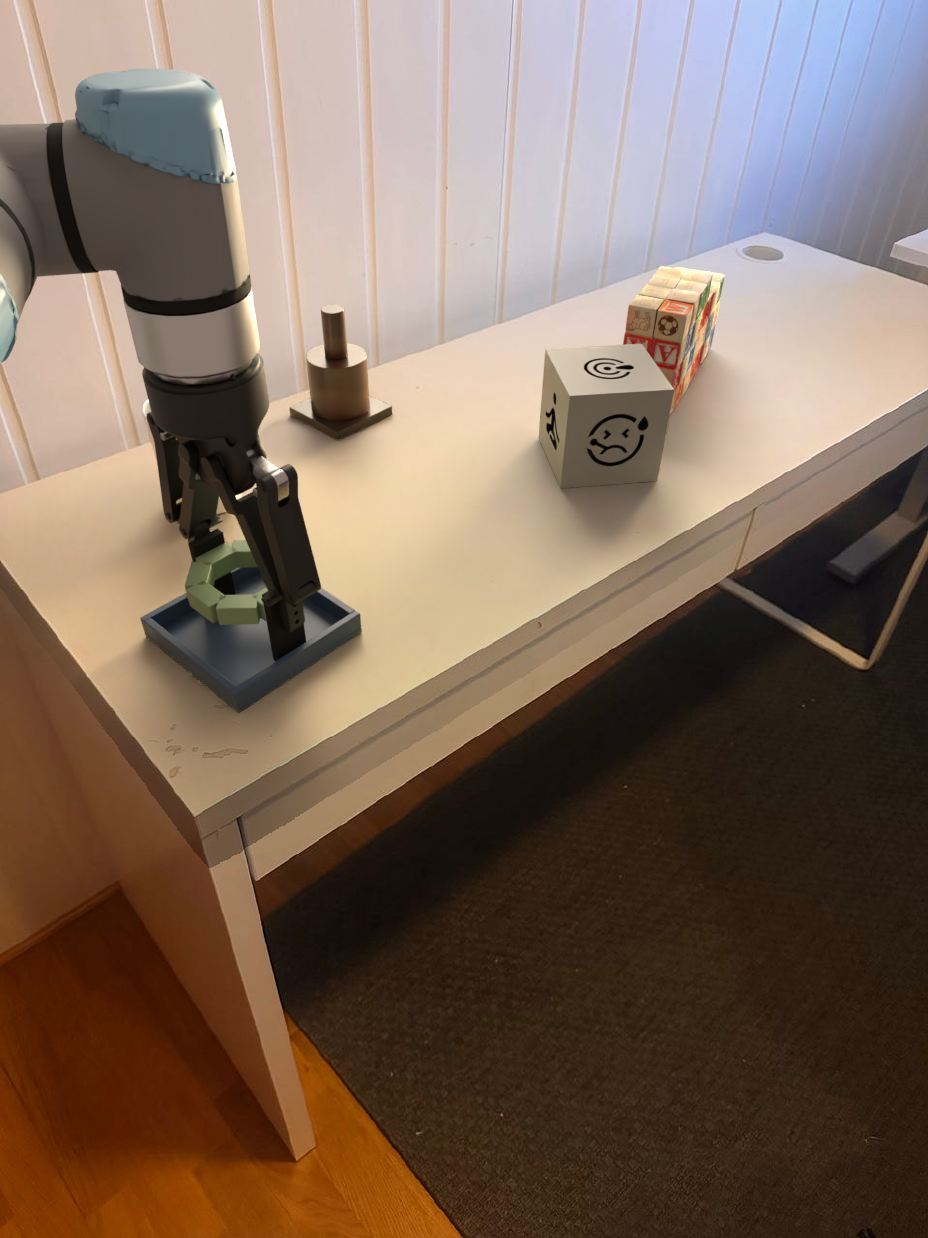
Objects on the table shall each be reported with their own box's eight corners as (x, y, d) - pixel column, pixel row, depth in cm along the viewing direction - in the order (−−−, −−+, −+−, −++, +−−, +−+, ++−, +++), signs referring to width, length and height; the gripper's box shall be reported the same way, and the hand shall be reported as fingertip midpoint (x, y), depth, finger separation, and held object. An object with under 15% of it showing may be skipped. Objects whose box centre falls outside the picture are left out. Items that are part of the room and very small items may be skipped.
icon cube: (628, 431, 97) (641, 343, 91) (657, 480, 90) (674, 389, 83) (538, 437, 96) (545, 348, 89) (560, 488, 88) (569, 395, 82)
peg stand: (290, 415, 99) (276, 308, 91) (344, 390, 103) (335, 287, 95) (338, 440, 95) (328, 331, 87) (392, 414, 99) (388, 308, 91)
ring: (168, 590, 68) (164, 573, 67) (256, 542, 73) (254, 526, 72) (235, 641, 64) (232, 624, 63) (324, 587, 69) (322, 570, 68)
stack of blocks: (663, 338, 115) (680, 239, 107) (711, 347, 113) (732, 248, 105) (613, 410, 101) (628, 302, 93) (667, 422, 99) (687, 313, 91)
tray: (145, 636, 71) (139, 617, 70) (267, 568, 78) (263, 549, 77) (239, 713, 65) (234, 694, 64) (362, 632, 72) (360, 613, 71)
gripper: (359, 392, 53) (379, 665, 68) (158, 296, 64) (213, 551, 79) (258, 439, 49) (303, 719, 64) (60, 328, 59) (139, 591, 74)
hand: (254, 626), depth 71 cm, fingers closed on ring, 8 cm apart
